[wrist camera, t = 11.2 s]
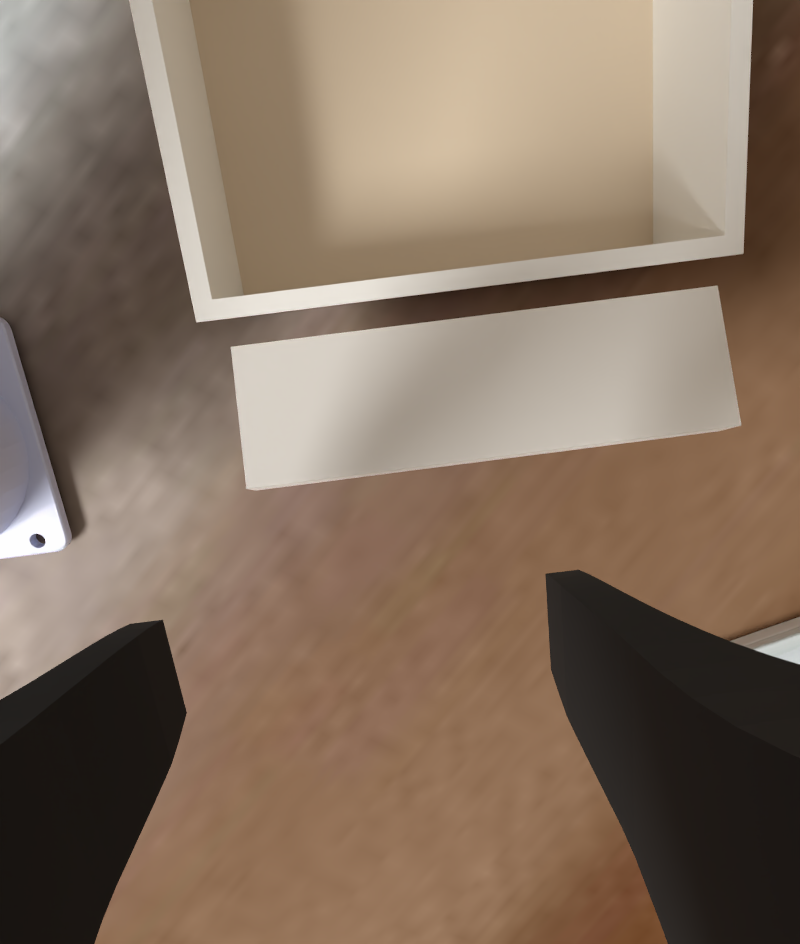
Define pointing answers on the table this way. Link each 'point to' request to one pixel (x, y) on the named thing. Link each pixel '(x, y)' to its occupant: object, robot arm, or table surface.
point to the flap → (483, 388)
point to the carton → (442, 142)
